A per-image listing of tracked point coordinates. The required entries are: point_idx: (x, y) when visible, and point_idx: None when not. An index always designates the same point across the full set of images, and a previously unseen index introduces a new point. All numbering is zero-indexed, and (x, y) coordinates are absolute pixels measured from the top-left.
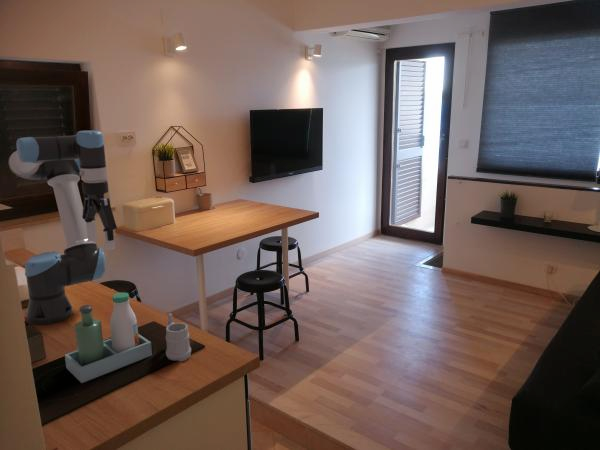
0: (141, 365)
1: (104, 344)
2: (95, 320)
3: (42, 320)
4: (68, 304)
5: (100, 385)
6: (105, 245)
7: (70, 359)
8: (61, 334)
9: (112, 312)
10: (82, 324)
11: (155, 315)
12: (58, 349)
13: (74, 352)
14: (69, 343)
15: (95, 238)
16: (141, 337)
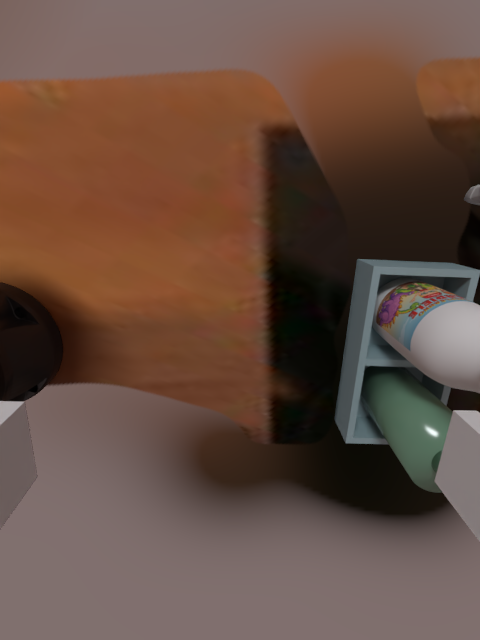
0: None
1: (378, 362)
2: (443, 437)
3: (47, 382)
4: (2, 308)
5: (449, 398)
6: (471, 524)
7: (378, 442)
8: (147, 363)
9: (457, 386)
10: (433, 471)
11: (227, 94)
12: (226, 397)
13: (354, 425)
14: (214, 369)
15: (12, 429)
16: (432, 273)
